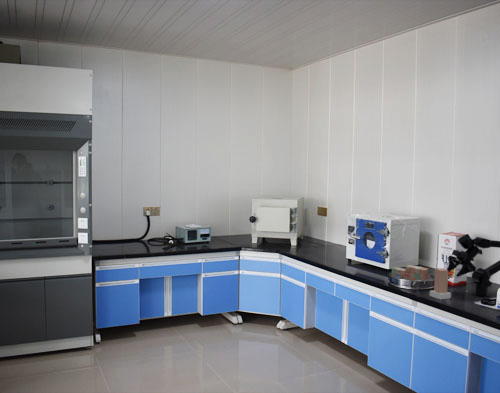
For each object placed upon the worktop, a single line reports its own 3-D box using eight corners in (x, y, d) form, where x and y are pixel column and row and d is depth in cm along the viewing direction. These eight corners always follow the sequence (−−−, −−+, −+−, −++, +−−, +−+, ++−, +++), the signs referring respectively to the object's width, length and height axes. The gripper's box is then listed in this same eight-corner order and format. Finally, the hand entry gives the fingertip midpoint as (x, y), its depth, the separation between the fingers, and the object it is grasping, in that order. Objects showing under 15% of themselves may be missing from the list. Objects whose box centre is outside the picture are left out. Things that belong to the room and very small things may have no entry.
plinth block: (439, 294, 263) (439, 289, 263) (450, 298, 256) (451, 292, 256) (429, 295, 260) (429, 290, 260) (440, 299, 253) (441, 294, 252)
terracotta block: (441, 290, 261) (443, 268, 260) (447, 292, 256) (448, 270, 255) (434, 290, 260) (435, 268, 259) (439, 293, 255) (440, 270, 254)
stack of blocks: (390, 282, 288) (391, 263, 287) (395, 281, 292) (396, 262, 291) (423, 289, 273) (424, 269, 272) (427, 287, 278) (428, 268, 277)
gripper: (451, 242, 267) (433, 261, 266) (472, 248, 249) (453, 268, 248) (462, 254, 269) (444, 273, 268) (484, 261, 251) (465, 281, 250)
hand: (451, 274), depth 258 cm, fingers open, 9 cm apart
